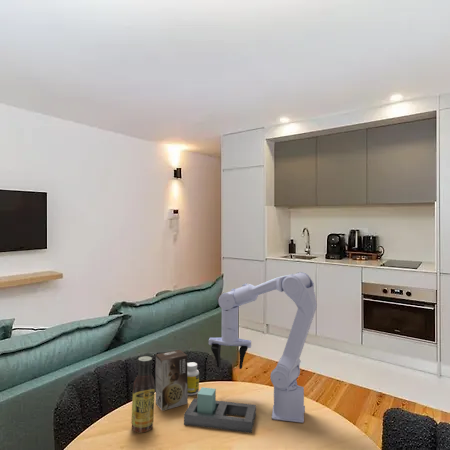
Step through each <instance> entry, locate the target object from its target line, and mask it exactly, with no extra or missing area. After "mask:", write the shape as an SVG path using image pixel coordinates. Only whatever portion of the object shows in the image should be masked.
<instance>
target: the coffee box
mask: <svg viewBox="0 0 450 450" xmlns="http://www.w3.org/2000/svg"><path fill="white" fill-rule="evenodd" d="M187 363H188V355H187V354H186V353H185V351H182V350H181V349H175V350H170V351H167V352H162V353H155V404H156V406H158V408H159V409H160V410H161V411H162V412H164V411H167V410H170V409H174V408H177V407H180V406H183V405H187V404H188V402H189V398H188V397H189V395H188V383H187Z"/></svg>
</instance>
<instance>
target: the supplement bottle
mask: <svg viewBox="0 0 450 450" xmlns="http://www.w3.org/2000/svg"><path fill="white" fill-rule="evenodd" d="M187 383H188V396H195V395H197V394H198V392H199V391H200V372H199V370H198V363H197V362H194V361H193V362H187Z"/></svg>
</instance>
